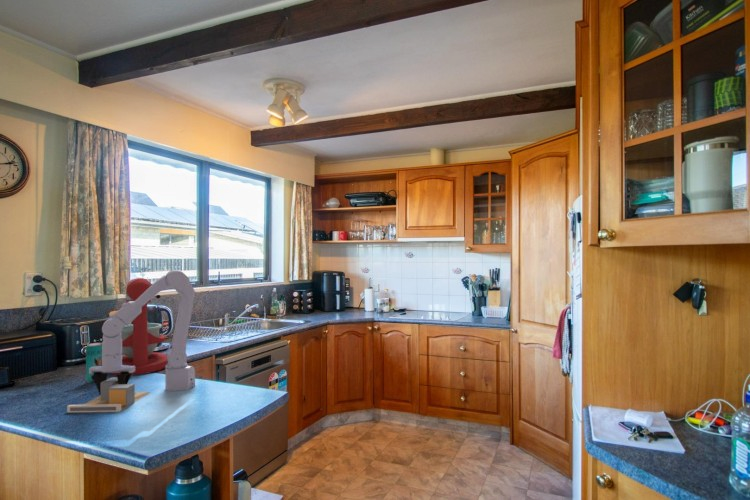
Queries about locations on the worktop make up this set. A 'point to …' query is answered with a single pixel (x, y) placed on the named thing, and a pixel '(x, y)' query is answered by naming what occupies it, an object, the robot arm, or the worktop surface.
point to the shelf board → (97, 401)
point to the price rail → (94, 408)
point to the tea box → (106, 385)
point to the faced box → (121, 394)
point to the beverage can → (93, 358)
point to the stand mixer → (141, 335)
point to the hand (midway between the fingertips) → (112, 393)
